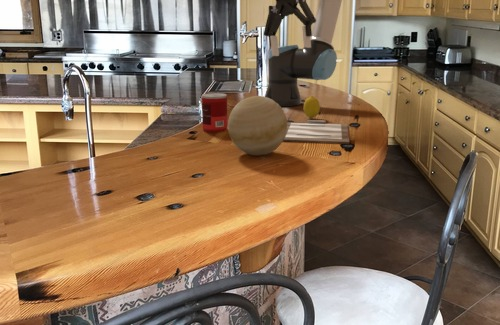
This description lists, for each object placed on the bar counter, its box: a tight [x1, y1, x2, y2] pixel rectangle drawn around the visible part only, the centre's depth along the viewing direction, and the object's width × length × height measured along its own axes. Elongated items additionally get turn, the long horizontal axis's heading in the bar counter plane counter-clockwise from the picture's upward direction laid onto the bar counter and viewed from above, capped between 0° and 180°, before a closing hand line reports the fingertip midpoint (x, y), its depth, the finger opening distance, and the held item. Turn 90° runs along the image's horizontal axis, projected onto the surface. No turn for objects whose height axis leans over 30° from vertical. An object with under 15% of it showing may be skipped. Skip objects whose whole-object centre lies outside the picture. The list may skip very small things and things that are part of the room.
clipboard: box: [282, 119, 350, 145], centre depth 159 cm, size 26×20×2 cm
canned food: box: [201, 92, 228, 133], centre depth 162 cm, size 8×8×11 cm
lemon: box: [303, 95, 321, 120], centre depth 180 cm, size 6×6×8 cm
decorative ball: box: [227, 95, 288, 156], centre depth 132 cm, size 15×15×15 cm
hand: (291, 51), depth 170 cm, fingers open, 13 cm apart
